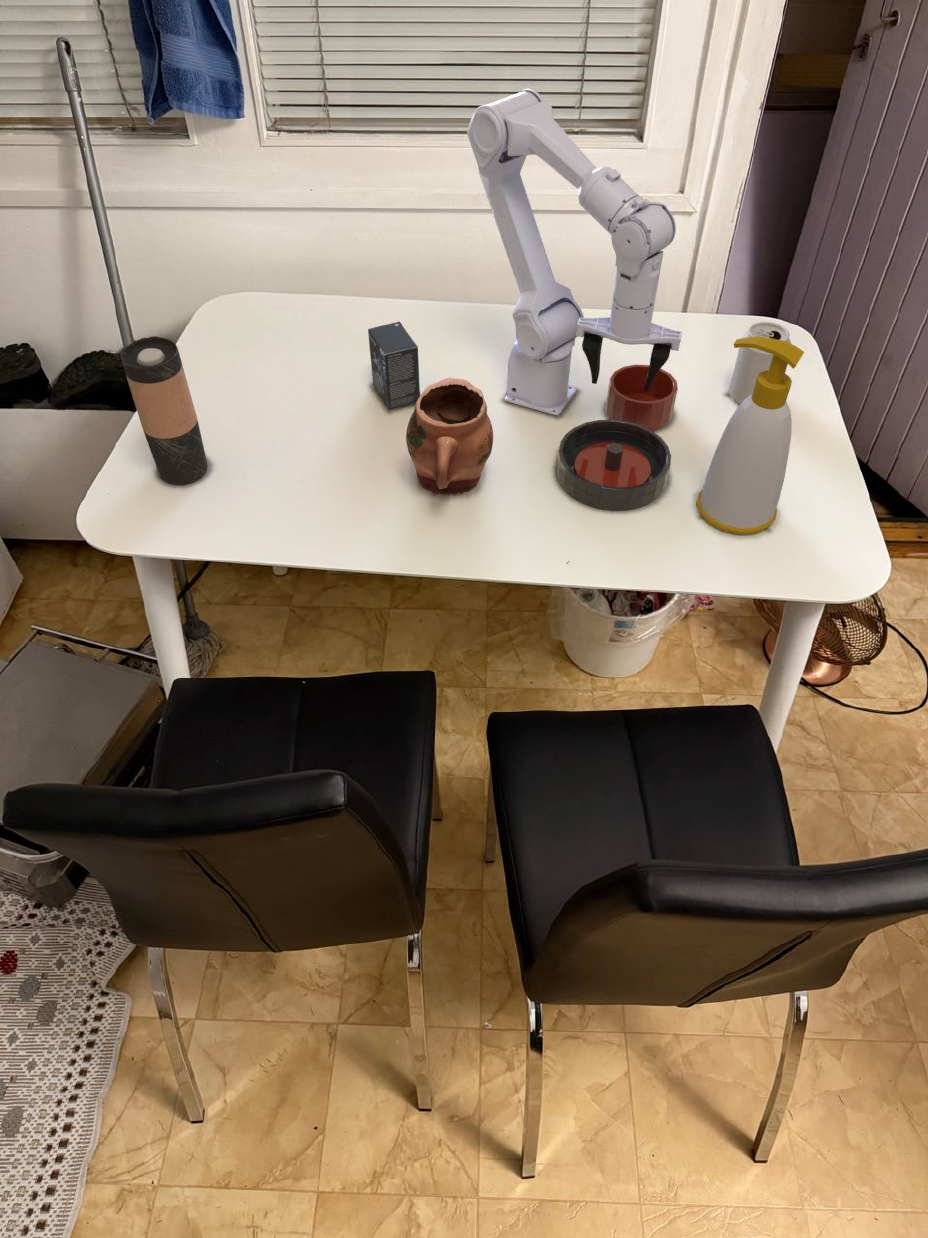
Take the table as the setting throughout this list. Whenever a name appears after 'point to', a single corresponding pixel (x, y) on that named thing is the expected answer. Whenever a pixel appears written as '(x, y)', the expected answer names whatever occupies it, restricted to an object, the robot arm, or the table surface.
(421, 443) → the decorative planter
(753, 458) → the soap bottle
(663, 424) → the reddish brown bowl
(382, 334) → the box
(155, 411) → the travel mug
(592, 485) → the pan
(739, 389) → the can
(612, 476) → the lid
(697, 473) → the table surface
